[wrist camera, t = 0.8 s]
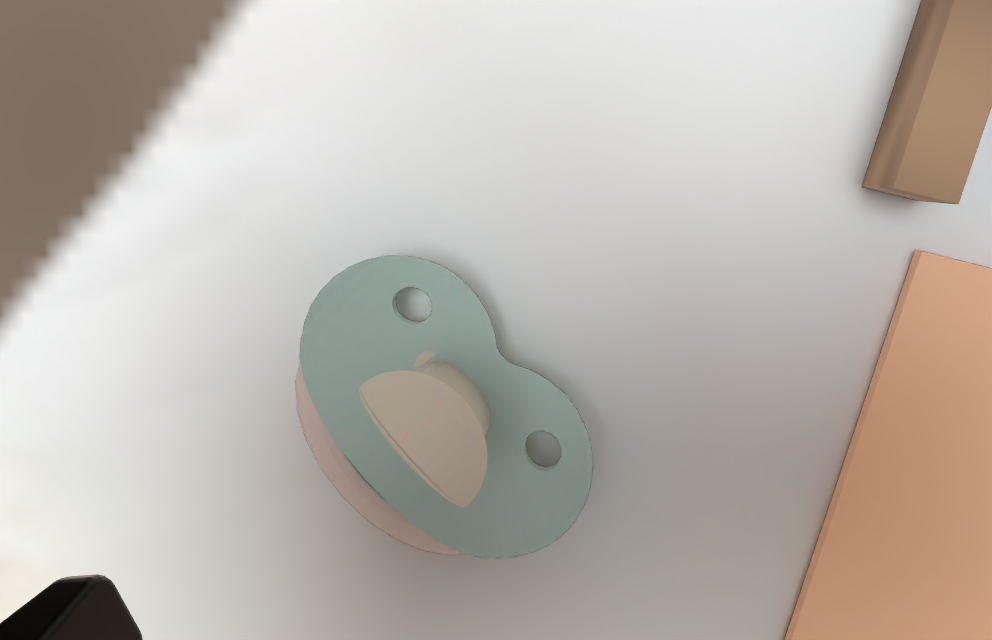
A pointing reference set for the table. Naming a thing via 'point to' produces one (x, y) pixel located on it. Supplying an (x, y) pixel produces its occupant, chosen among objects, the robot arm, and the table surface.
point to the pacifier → (434, 417)
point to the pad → (915, 477)
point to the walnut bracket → (936, 104)
